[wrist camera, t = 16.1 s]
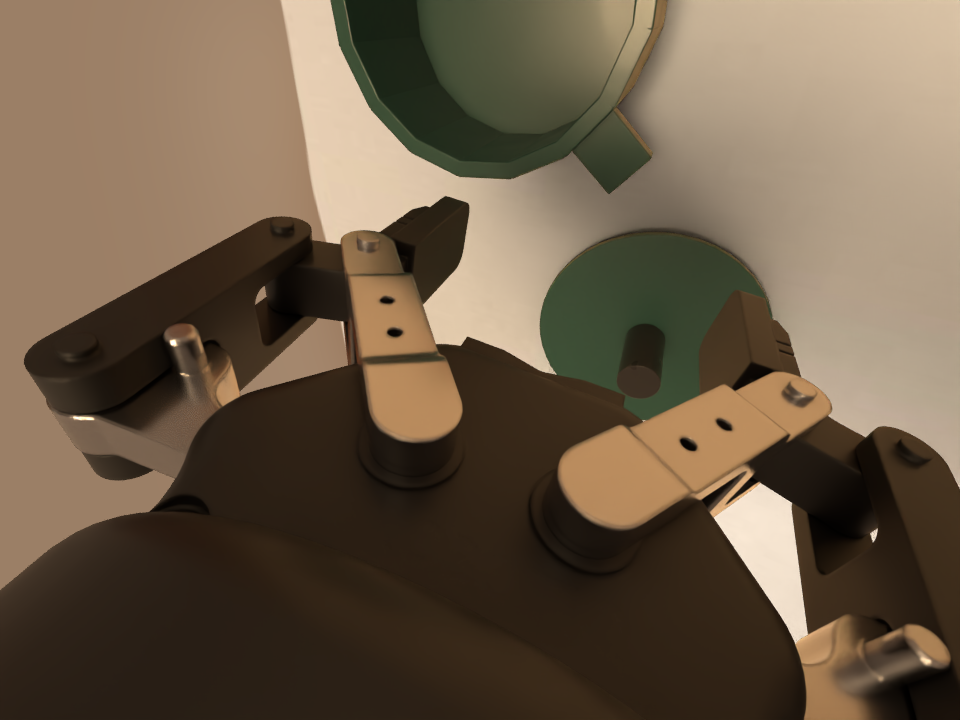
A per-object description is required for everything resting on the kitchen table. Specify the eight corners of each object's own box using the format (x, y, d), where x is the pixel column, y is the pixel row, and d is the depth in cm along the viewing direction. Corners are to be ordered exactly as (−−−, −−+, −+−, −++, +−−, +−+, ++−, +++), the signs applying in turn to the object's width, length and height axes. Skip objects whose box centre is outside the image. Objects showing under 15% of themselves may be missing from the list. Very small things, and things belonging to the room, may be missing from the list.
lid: (677, 175, 26) (673, 209, 22) (821, 357, 29) (844, 420, 25) (504, 310, 36) (476, 353, 31) (625, 436, 39) (616, 492, 34)
